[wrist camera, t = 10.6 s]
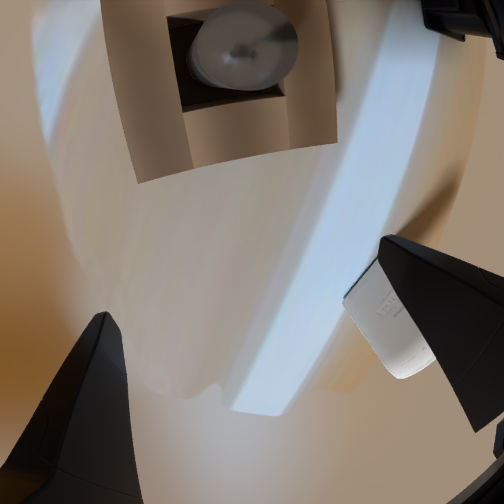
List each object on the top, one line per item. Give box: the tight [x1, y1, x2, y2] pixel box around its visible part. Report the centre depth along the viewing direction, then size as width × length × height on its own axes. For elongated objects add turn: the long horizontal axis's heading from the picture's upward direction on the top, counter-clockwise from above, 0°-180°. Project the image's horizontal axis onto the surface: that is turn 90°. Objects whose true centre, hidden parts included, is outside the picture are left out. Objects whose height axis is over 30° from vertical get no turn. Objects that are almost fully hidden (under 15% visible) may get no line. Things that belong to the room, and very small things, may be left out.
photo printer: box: [342, 259, 436, 379], centre depth 26 cm, size 10×4×12 cm, turn 145°
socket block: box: [100, 0, 337, 184], centre depth 14 cm, size 12×12×4 cm
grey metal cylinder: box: [186, 0, 299, 91], centre depth 12 cm, size 4×4×8 cm
